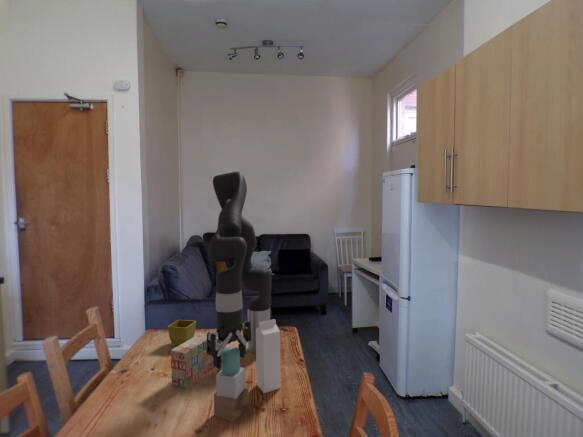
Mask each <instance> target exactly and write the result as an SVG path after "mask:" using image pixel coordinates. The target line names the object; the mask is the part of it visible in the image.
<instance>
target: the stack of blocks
mask: <svg viewBox="0 0 583 437" xmlns="http://www.w3.org/2000/svg"><path fill="white" fill-rule="evenodd" d="M217 338H218V336H217ZM222 343H223V342H222V341H221V342H220V344H222ZM218 349H219V348H218ZM206 351H207V337H200V336H193V338H191V339H190V340H188V341H186V342H184V343H183V344H181V345H179V346H176V347H173V348H172V349H171V350H170V367H171V368H170V370H171V386H173V387H174V386H175V387H178V388H182V389H186V390H187V389H188V388H190V387H191V386H192V385H195V383H197V382H198V381H199V380H201V379H203V377H205V376H206V375H207V374H209V373H210V372H211V371H212V370H214V369H215V368H216V367H215V366H214V364H213V363H214V362H213V356H211V355H209V354H207V353H206ZM217 351H218V350H217ZM221 364H222V353H221Z"/></svg>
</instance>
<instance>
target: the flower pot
mask: <svg viewBox="0 0 583 437" xmlns="http://www.w3.org/2000/svg"><path fill="white" fill-rule="evenodd" d="M196 325H197V321H196V320H191V319H189V320H188V319H177V320H175V321H174V322H173V323H172V322H171V323H170V324H169V325H168V326H167V332H168V337H169V340H170V342H171V344H172V345H173V346H176V347H178V346H179V345H181V344H183V343H184V342H186V341H188V340H190V339H191V338H193V337H195V333H196Z"/></svg>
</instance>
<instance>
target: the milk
mask: <svg viewBox="0 0 583 437" xmlns="http://www.w3.org/2000/svg"><path fill="white" fill-rule="evenodd" d="M276 320H277V319H275V318H273V319H270V320H268V321H263V322H260V323H259V327H258V328H257V329H256V354H255V357H256V358H255V359H256V360H255V362H256V363H255V364H256V365H255V366H256V368H255V369H256V371H255V374H256V375H255V376H256V386H257V387H258V388H259V389H260V390H261V391H262V393H263V394H266V393H269V392H273V391H276V390H278V389H281V388H282V386H281V385H282V384H281V331H280V329H279V326H278V325H277V321H276Z"/></svg>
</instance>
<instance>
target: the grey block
mask: <svg viewBox="0 0 583 437" xmlns="http://www.w3.org/2000/svg"><path fill="white" fill-rule="evenodd" d="M215 376H216V392H217V396H222V397H227V398H233V399H236V398H237V397H238V396H239V395H240V394H241V392H242V391H243V390H244V389H245V388H246V367H241V366H240V372H239V373H238V374H236V375H232V376H227V375H224V374H223V373H222V369H221V370H219V371H218V373H217V374H216V375H215Z"/></svg>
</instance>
